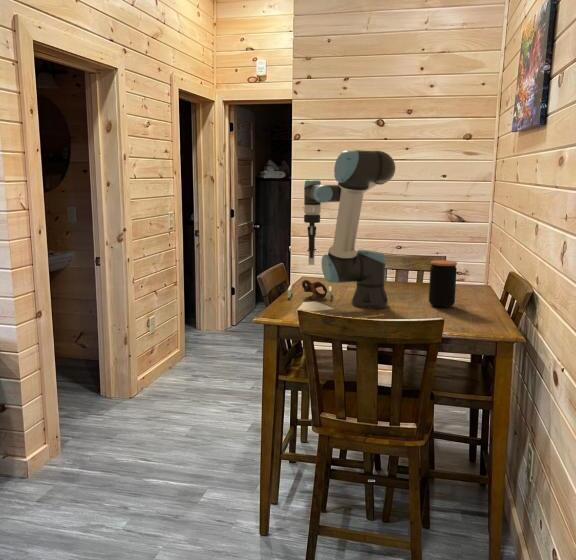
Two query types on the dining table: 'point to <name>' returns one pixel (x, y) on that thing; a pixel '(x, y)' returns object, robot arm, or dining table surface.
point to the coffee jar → (442, 283)
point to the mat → (314, 306)
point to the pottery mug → (314, 289)
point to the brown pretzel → (291, 292)
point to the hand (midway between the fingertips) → (311, 264)
